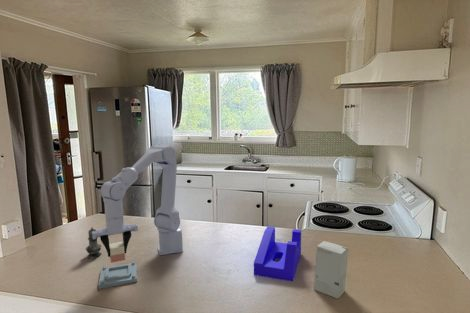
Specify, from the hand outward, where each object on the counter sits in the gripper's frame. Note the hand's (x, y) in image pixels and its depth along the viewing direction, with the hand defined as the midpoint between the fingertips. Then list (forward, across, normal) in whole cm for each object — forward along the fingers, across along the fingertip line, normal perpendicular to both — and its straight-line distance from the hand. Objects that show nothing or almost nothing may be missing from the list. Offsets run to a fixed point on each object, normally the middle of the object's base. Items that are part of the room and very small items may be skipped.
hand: (117, 253), depth 107 cm
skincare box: (+9, -59, +42) cm, 73 cm away
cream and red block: (+2, 0, 0) cm, 2 cm away
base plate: (+8, 0, 0) cm, 8 cm away
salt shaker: (+9, +7, -22) cm, 25 cm away
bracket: (+9, -54, +20) cm, 59 cm away
